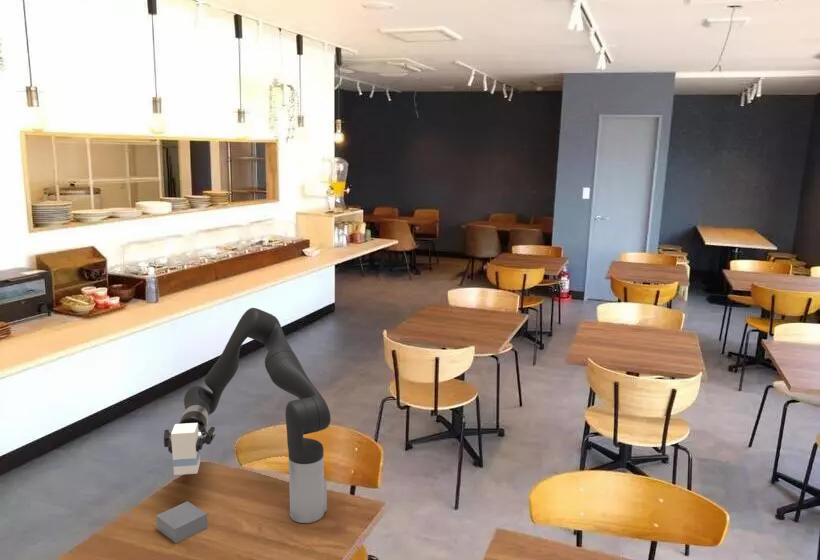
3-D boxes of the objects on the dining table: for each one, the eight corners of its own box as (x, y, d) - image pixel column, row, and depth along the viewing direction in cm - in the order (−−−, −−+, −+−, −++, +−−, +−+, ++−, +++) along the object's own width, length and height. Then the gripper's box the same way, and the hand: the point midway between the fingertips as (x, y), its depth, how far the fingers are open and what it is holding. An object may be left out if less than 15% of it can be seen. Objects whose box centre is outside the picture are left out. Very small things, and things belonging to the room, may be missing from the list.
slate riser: (188, 514, 171) (187, 501, 170) (207, 527, 166) (206, 513, 165) (157, 529, 164) (156, 515, 164) (175, 543, 159) (174, 529, 158)
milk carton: (177, 463, 176) (174, 424, 174) (200, 462, 177) (198, 422, 175) (173, 475, 170) (170, 434, 168) (197, 473, 171) (194, 432, 169)
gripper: (167, 411, 184) (155, 438, 168) (218, 409, 187) (211, 434, 170) (168, 435, 186) (157, 464, 170) (219, 432, 188) (212, 460, 172)
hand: (184, 449), depth 170 cm, fingers closed on milk carton, 6 cm apart
